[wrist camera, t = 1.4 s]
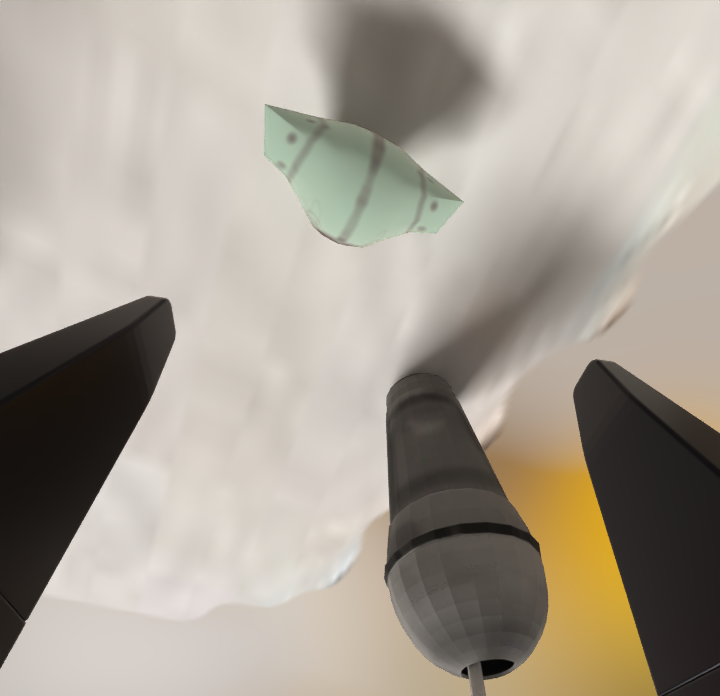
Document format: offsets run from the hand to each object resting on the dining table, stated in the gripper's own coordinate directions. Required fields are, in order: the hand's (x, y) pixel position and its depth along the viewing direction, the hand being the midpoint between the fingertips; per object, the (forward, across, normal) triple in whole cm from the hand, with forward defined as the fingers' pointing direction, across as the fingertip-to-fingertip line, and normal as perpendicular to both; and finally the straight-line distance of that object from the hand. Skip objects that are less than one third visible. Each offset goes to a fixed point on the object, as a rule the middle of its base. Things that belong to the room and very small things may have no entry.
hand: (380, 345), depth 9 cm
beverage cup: (+14, -5, +14) cm, 21 cm away
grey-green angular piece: (+14, +2, 0) cm, 14 cm away
